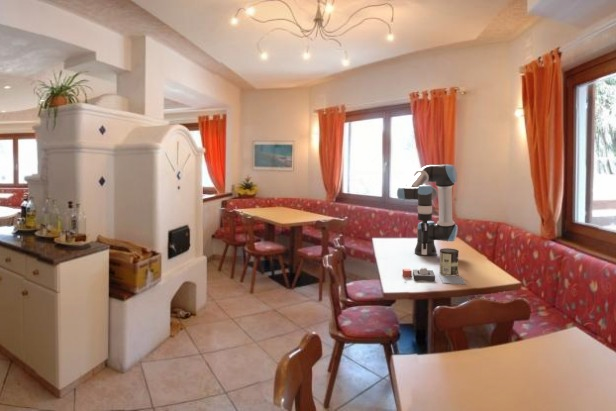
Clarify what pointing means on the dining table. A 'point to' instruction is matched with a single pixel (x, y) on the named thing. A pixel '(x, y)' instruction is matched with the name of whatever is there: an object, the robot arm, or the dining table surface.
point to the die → (407, 273)
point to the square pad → (452, 280)
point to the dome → (423, 271)
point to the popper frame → (423, 276)
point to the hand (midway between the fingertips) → (424, 254)
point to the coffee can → (449, 262)
